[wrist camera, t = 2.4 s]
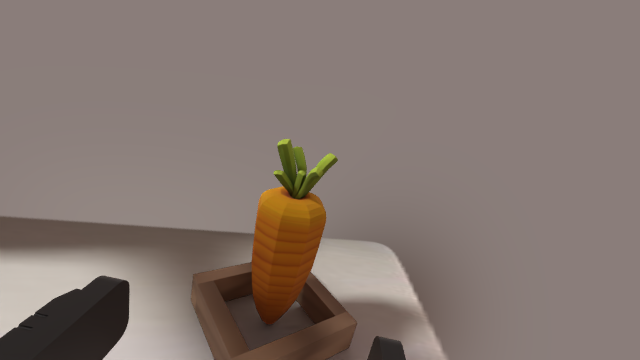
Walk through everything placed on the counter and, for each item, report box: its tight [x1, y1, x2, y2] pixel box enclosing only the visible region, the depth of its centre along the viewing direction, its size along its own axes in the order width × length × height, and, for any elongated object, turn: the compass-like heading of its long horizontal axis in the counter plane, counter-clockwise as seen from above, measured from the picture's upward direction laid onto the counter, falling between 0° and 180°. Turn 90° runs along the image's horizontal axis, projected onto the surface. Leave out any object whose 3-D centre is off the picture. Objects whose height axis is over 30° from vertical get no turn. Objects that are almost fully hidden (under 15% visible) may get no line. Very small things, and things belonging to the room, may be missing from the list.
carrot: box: [252, 139, 338, 324], centre depth 21 cm, size 5×5×15 cm
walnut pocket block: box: [191, 262, 357, 360], centre depth 23 cm, size 9×9×2 cm
